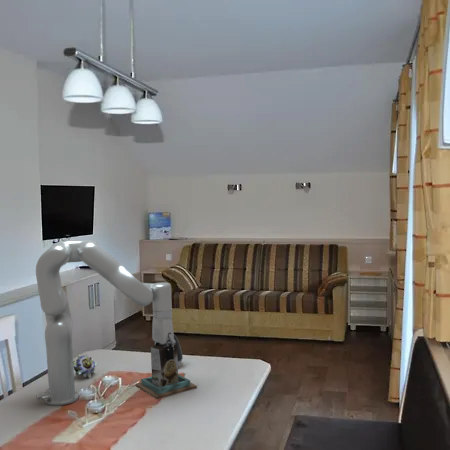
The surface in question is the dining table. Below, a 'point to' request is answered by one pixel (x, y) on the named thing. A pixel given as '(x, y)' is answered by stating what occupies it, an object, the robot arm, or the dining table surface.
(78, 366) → the passion flower
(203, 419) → the dining table surface
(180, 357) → the dark grey speaker
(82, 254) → the robot arm
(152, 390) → the board
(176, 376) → the coffee box
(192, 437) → the dining table surface
